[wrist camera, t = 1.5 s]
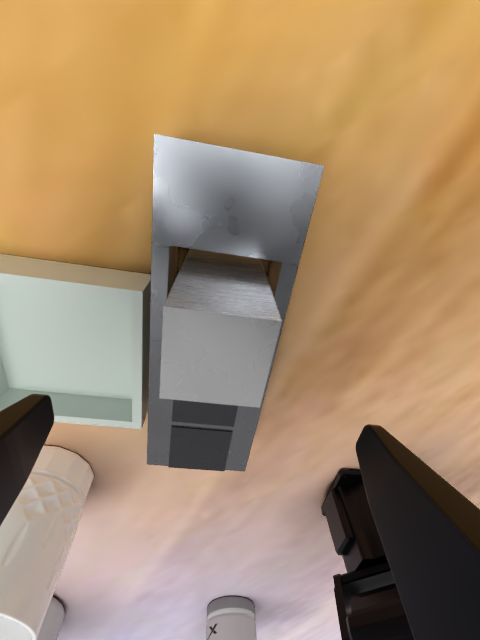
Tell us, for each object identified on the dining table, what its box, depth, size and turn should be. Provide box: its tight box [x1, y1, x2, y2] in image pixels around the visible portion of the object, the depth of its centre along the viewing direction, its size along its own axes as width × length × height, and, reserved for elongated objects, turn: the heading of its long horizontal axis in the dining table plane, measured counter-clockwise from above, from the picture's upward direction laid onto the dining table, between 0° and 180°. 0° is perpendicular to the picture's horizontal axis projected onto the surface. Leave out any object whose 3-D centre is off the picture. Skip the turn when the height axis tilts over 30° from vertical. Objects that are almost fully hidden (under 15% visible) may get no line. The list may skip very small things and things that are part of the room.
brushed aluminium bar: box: [159, 248, 282, 408], centre depth 14 cm, size 4×4×8 cm
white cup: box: [0, 445, 94, 640], centre depth 21 cm, size 8×8×10 cm
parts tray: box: [0, 254, 151, 429], centre depth 18 cm, size 10×10×3 cm
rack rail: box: [147, 134, 324, 471], centre depth 18 cm, size 7×20×3 cm, turn 171°
